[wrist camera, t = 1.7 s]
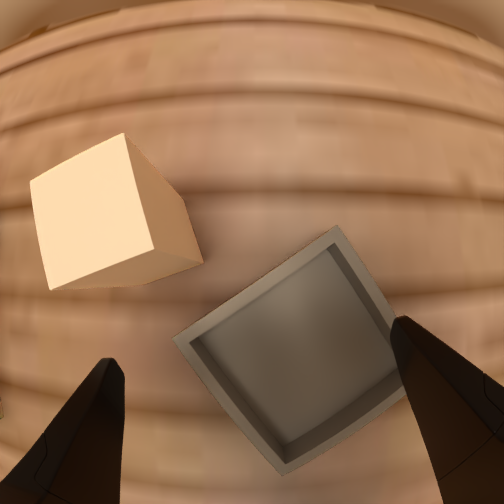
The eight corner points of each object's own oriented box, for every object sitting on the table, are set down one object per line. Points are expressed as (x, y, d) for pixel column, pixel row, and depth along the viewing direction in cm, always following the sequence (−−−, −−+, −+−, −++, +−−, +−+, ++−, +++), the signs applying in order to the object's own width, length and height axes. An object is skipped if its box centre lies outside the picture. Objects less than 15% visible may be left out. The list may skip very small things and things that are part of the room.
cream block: (204, 263, 23) (154, 248, 11) (142, 285, 23) (49, 290, 11) (183, 199, 24) (123, 132, 12) (124, 223, 24) (29, 181, 12)
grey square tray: (278, 453, 22) (282, 476, 19) (183, 329, 23) (171, 338, 19) (408, 363, 22) (429, 374, 19) (325, 232, 23) (337, 224, 20)
